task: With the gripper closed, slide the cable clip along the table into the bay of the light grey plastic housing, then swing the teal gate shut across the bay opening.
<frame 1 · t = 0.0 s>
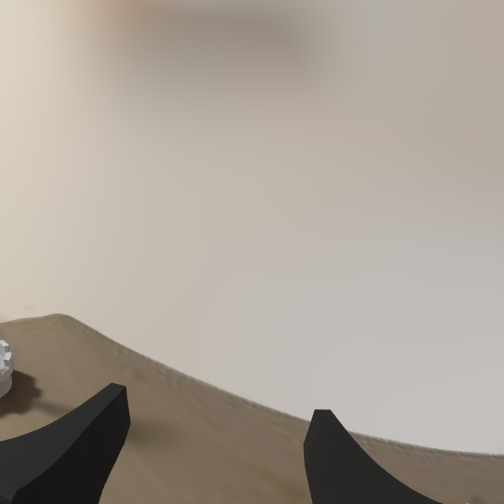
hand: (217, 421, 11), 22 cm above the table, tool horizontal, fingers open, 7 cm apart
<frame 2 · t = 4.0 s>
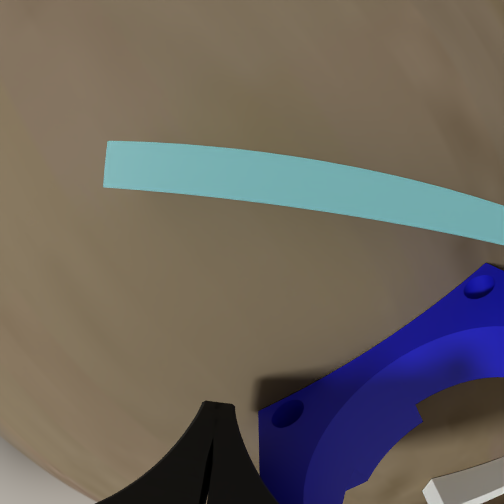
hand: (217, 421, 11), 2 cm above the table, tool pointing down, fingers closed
gate: (405, 201, 9), point 2 cm above the table, hinge at 90.0°
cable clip: (396, 373, 13), on the table, touching gripper
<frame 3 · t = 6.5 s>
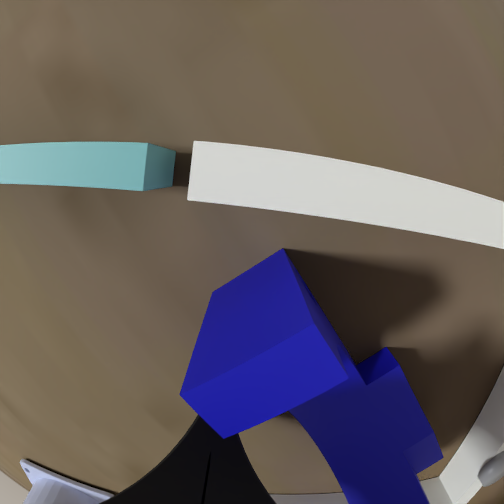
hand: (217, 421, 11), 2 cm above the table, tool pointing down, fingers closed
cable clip: (339, 371, 13), on the table, touching gripper
housing: (374, 398, 13), on the table
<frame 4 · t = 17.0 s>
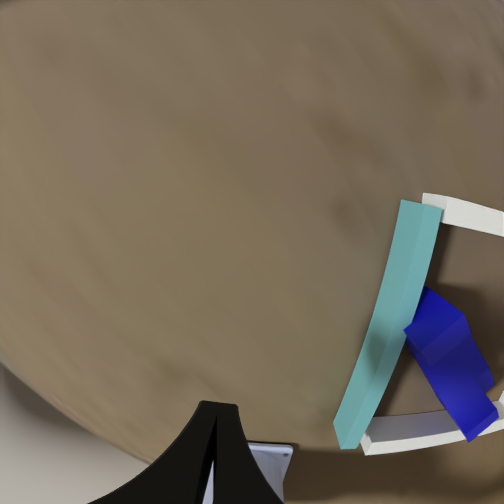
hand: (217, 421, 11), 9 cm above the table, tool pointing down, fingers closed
gate: (384, 339, 18), point 2 cm above the table, hinge at 2.6°, touching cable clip
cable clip: (437, 340, 21), on the table, touching gate
housing: (475, 332, 20), on the table
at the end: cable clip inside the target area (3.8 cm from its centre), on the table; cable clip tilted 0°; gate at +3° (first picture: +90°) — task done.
